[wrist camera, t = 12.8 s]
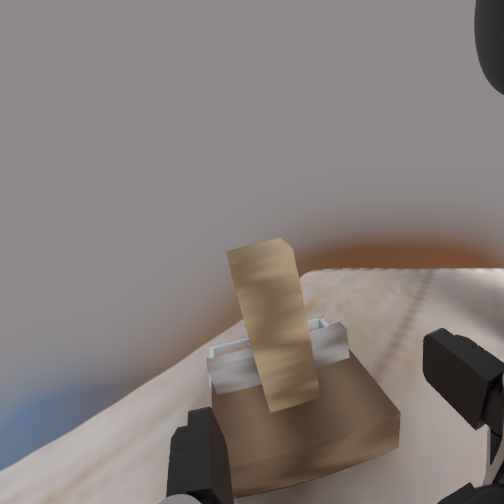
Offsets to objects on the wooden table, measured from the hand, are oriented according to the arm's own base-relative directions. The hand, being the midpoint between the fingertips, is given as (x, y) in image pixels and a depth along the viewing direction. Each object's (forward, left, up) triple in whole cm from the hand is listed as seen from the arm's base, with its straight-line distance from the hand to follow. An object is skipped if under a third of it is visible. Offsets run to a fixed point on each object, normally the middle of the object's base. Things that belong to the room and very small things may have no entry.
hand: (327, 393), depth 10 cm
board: (0, -12, -13) cm, 18 cm away
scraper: (0, -13, -9) cm, 16 cm away
